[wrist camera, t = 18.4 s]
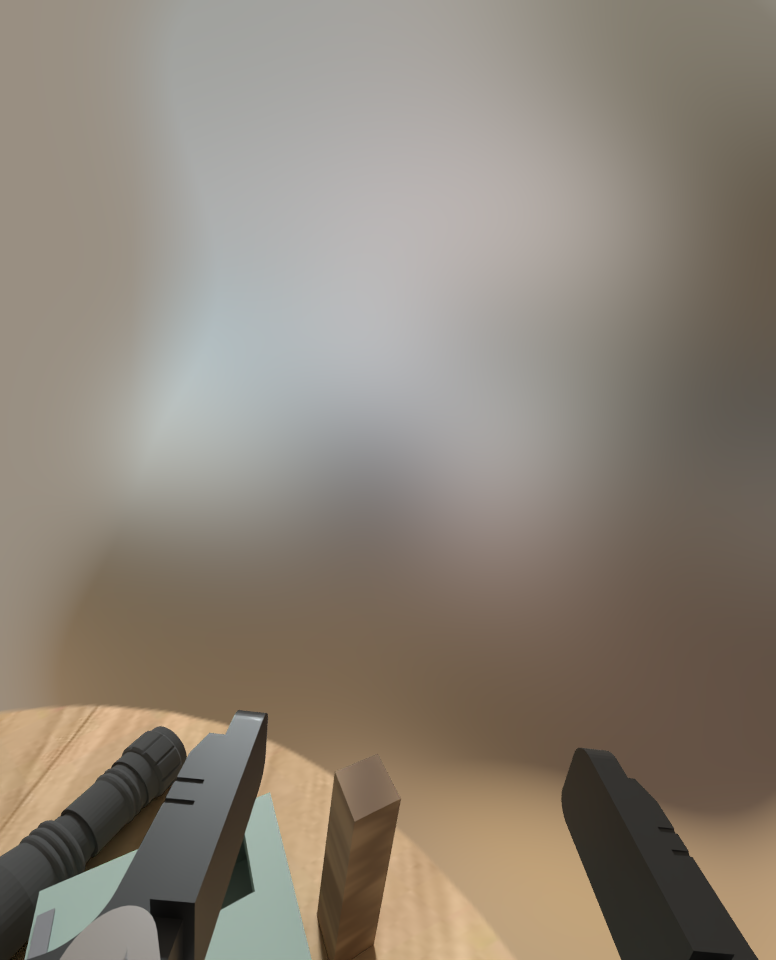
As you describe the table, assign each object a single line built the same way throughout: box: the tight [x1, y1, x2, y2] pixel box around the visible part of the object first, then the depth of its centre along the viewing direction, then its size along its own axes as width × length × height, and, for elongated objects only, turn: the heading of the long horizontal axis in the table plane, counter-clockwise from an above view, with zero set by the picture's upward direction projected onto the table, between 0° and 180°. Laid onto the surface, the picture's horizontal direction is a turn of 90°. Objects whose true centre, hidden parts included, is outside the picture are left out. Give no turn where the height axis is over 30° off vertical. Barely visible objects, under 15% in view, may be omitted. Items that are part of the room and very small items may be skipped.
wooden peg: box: [317, 754, 401, 960], centre depth 26 cm, size 3×3×14 cm
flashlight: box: [0, 726, 187, 960], centre depth 30 cm, size 15×5×5 cm, turn 160°
